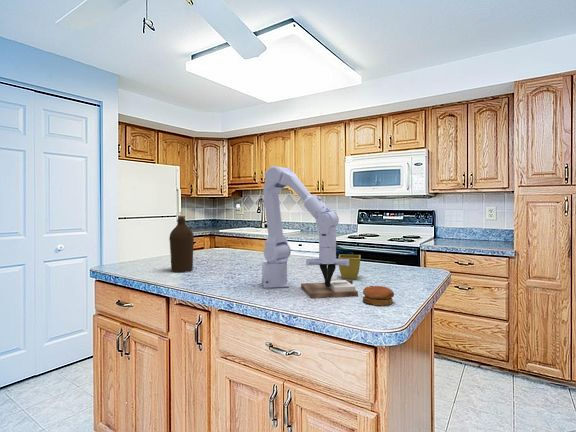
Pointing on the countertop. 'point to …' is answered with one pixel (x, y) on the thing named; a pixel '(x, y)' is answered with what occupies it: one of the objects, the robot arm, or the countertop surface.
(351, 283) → the wooden mallet
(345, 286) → the cover
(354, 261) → the flower pot
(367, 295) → the burger
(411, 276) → the countertop surface
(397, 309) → the countertop surface
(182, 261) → the olive oil
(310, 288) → the board
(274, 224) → the robot arm
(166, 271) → the countertop surface
